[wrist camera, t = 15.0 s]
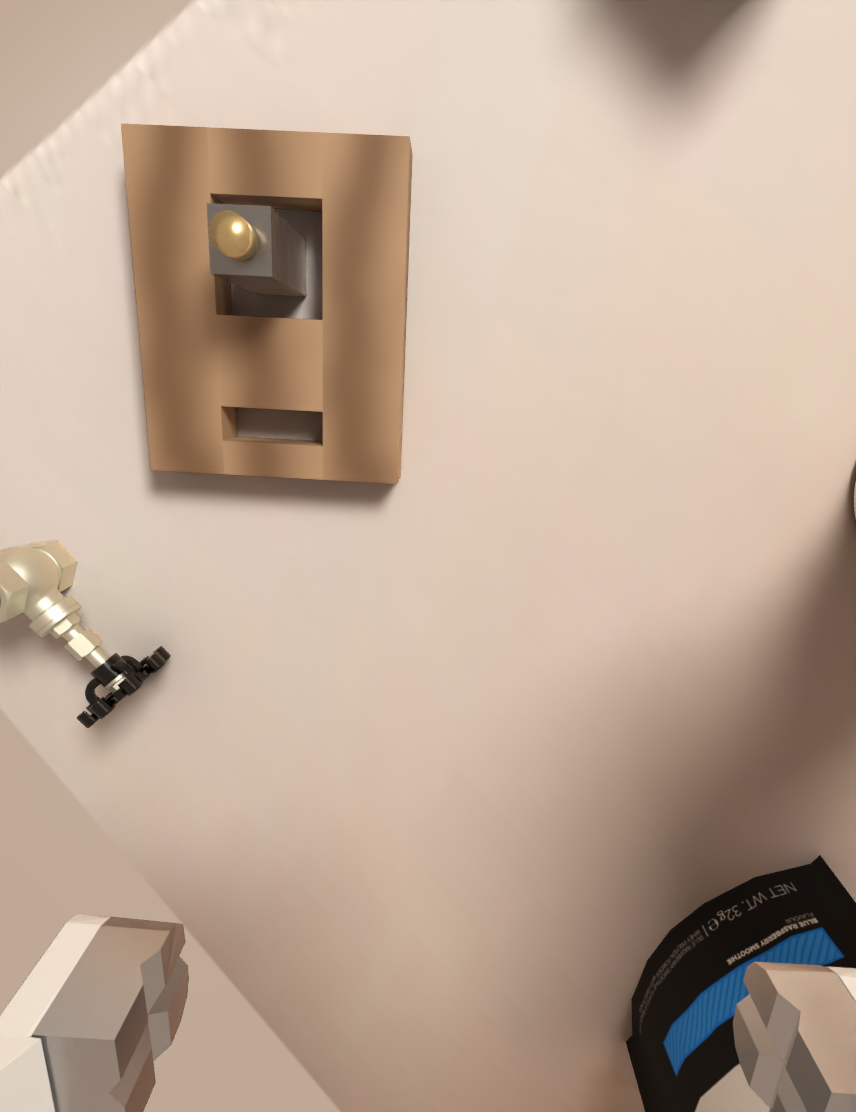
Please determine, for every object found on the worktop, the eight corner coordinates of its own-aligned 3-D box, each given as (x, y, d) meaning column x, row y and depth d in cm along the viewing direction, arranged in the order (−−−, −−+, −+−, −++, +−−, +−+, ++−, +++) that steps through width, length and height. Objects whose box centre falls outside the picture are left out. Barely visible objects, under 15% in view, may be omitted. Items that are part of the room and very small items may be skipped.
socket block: (412, 154, 33) (409, 136, 30) (400, 477, 38) (397, 484, 35) (144, 142, 33) (120, 123, 30) (169, 464, 38) (151, 469, 36)
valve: (-2, 568, 41) (123, 691, 43) (-84, 603, 34) (68, 745, 37) (61, 512, 39) (186, 642, 42) (-13, 537, 33) (140, 689, 36)
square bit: (305, 240, 34) (260, 196, 26) (306, 296, 35) (262, 271, 27) (254, 237, 34) (193, 193, 26) (256, 293, 35) (197, 268, 27)
